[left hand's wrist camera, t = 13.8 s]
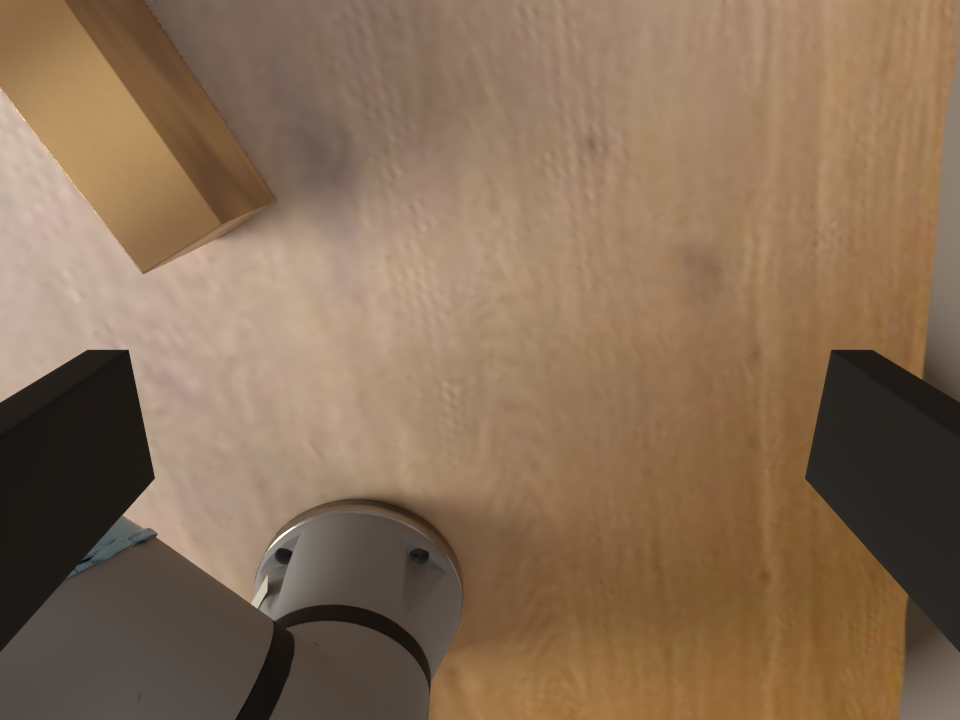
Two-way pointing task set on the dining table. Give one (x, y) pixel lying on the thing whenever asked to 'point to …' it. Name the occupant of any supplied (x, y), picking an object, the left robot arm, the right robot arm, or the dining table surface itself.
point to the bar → (127, 124)
